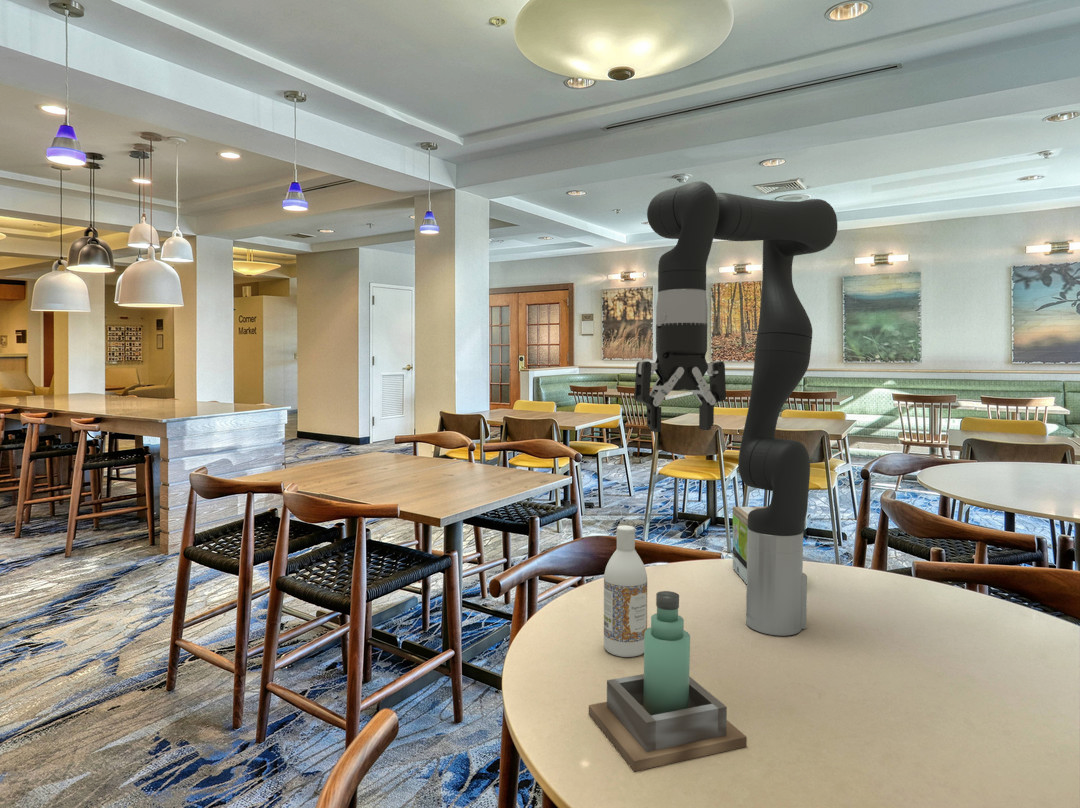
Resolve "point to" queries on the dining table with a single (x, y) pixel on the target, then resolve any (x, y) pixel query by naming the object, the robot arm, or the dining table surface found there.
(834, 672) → the dining table surface
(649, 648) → the green bottle
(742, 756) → the dining table surface
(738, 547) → the tea box
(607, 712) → the bottle stand
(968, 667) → the dining table surface
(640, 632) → the bath foam
